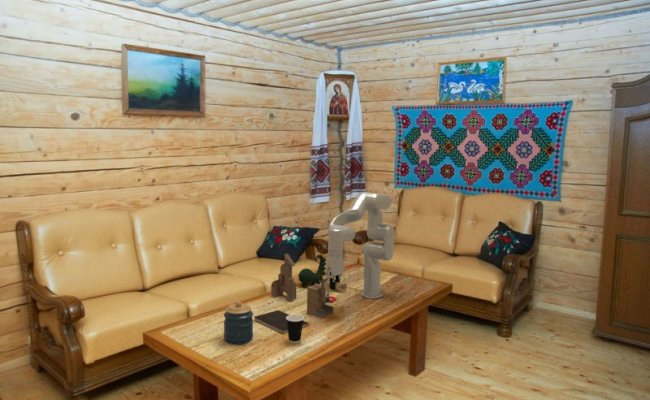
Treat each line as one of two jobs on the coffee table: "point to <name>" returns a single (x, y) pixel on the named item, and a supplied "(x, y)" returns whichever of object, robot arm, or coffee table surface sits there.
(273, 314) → the hardcover book
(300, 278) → the toy figurine
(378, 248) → the robot arm
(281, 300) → the coffee table surface
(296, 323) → the dixie cup
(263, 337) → the coffee table surface
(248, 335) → the canister
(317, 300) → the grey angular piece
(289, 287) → the wooden toy
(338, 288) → the bed rail
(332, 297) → the tow hook
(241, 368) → the coffee table surface
